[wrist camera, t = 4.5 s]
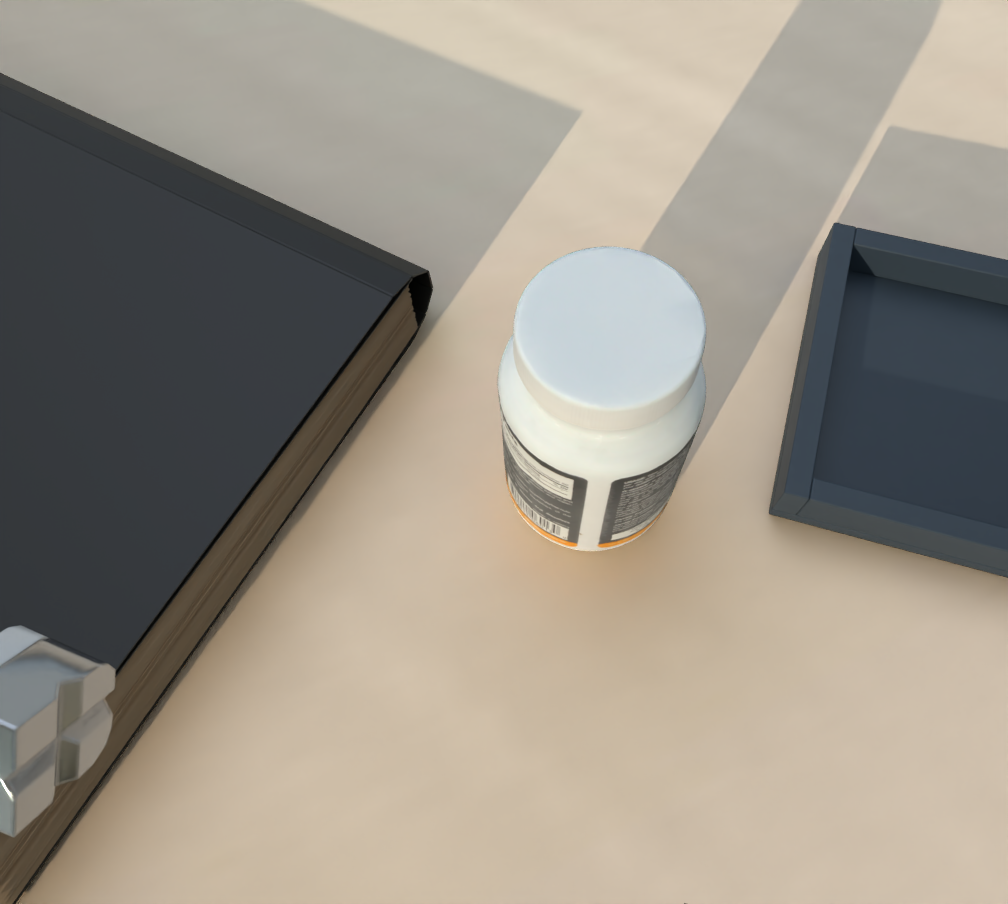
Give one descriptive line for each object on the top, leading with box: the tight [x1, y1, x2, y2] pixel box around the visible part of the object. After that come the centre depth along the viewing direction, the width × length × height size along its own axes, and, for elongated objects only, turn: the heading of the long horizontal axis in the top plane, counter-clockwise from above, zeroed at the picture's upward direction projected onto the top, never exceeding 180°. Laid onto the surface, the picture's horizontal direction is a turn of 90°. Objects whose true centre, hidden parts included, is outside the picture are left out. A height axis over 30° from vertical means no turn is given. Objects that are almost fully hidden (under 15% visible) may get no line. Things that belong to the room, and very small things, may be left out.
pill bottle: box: [498, 247, 706, 551], centre depth 25 cm, size 6×6×10 cm
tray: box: [769, 223, 1008, 577], centre depth 29 cm, size 13×11×2 cm
